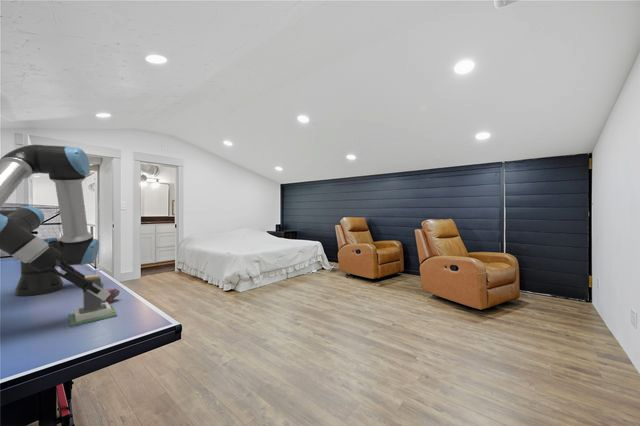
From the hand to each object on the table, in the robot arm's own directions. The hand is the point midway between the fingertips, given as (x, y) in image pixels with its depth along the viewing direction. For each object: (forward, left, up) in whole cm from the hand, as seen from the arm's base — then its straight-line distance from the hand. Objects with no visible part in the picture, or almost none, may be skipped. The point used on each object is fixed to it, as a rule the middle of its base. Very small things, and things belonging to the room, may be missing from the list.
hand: (106, 295), depth 98 cm
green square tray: (0, -4, -6) cm, 7 cm away
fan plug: (0, -4, -3) cm, 5 cm away
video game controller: (-13, +1, -7) cm, 15 cm away
